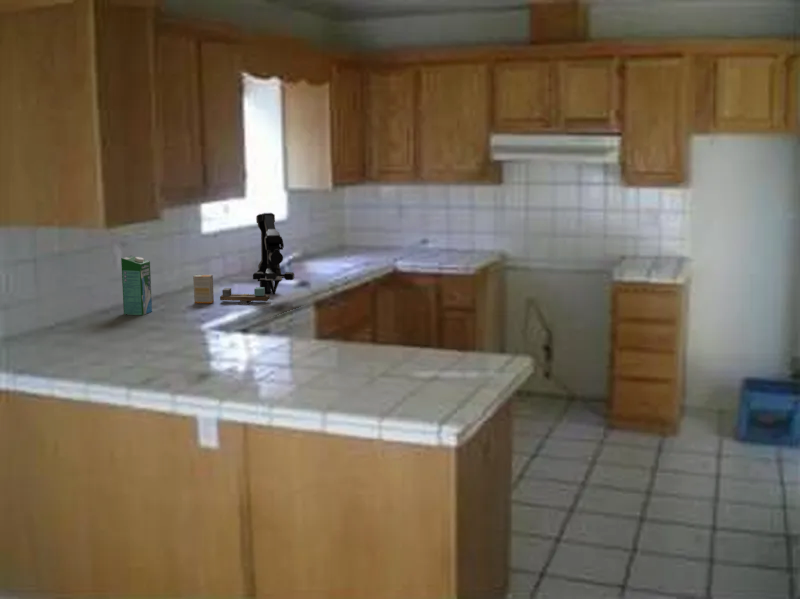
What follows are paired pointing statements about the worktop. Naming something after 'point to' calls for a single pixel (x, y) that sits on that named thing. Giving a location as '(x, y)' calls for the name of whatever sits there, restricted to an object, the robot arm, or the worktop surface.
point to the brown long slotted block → (242, 297)
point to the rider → (259, 291)
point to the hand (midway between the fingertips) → (274, 294)
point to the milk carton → (136, 285)
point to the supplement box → (203, 289)
